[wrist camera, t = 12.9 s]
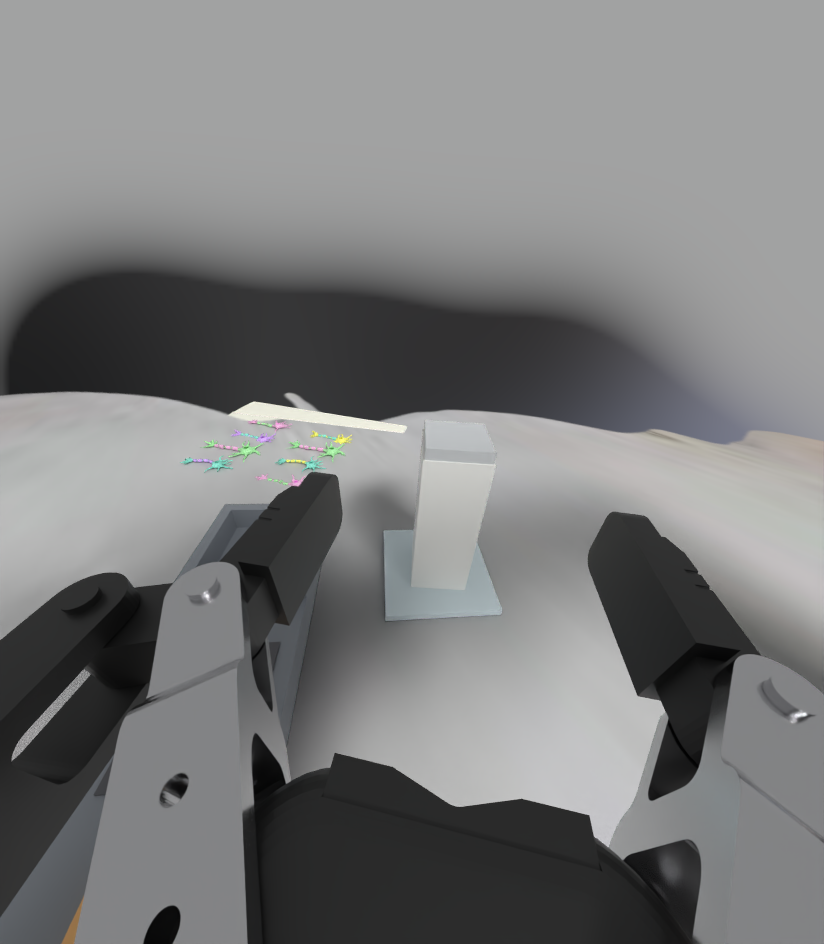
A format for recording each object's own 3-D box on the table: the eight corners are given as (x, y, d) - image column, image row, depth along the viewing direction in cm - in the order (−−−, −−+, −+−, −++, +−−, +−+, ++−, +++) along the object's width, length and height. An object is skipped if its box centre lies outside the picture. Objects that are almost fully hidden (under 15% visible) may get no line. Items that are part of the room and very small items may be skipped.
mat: (471, 532, 31) (472, 528, 31) (500, 614, 24) (502, 610, 23) (383, 534, 30) (383, 530, 30) (385, 621, 23) (385, 616, 22)
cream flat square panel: (407, 428, 52) (407, 420, 51) (327, 563, 28) (326, 553, 27) (253, 403, 57) (252, 395, 56) (71, 500, 33) (63, 489, 32)
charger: (459, 549, 28) (485, 423, 21) (464, 590, 25) (499, 454, 18) (412, 546, 28) (423, 418, 21) (410, 587, 25) (424, 449, 18)
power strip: (329, 525, 31) (324, 489, 28) (121, 1606, 6) (-65, 2094, 3) (246, 526, 30) (234, 490, 27) (-422, 1816, 5) (-1210, 2685, 2)
